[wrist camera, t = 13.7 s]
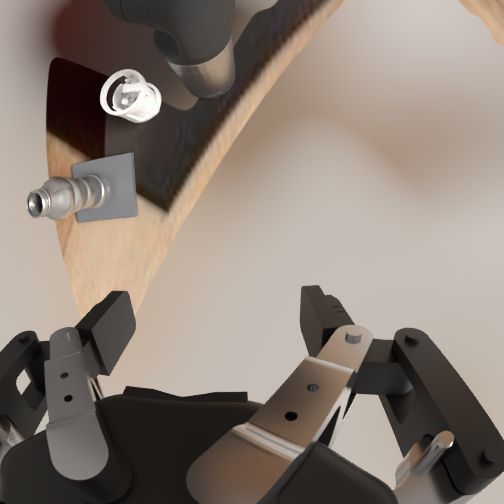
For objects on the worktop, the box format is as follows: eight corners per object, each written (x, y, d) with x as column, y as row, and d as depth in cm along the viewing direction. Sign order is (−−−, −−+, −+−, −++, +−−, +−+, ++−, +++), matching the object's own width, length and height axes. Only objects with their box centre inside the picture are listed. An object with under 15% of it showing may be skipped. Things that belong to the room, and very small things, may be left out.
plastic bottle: (100, 212, 47) (36, 239, 28) (83, 186, 45) (14, 201, 26) (122, 191, 46) (58, 208, 27) (103, 164, 44) (35, 168, 25)
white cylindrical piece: (168, 125, 44) (138, 110, 29) (133, 128, 43) (93, 116, 29) (171, 90, 42) (144, 63, 27) (136, 93, 41) (99, 71, 27)
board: (75, 164, 45) (72, 165, 44) (133, 152, 45) (130, 152, 44) (80, 221, 48) (78, 222, 47) (138, 215, 48) (136, 216, 47)
